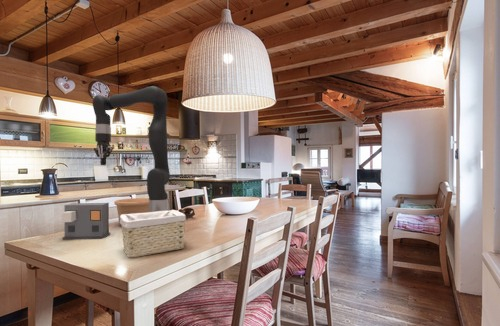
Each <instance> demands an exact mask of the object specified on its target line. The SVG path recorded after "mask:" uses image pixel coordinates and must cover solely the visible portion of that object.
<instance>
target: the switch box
mask: <svg viewBox="0 0 500 326" xmlns="http://www.w3.org/2000/svg"><path fill="white" fill-rule="evenodd" d="M109 206H110V205H109V202H84V203H83V202H77V203H76V202H75V203H73V202H72V203H68V204H64V212H66V211H77V220H75V221H73V222H64V236H62V240H104V239H105V238H106V237H108V236H110V235H111V232H110V231H109V229H110V227H109V221H110V220H109V219H110V218H109V211H110V210H109V209H110V208H109ZM92 210H101V220H91V211H92Z"/></svg>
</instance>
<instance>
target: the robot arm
mask: <svg viewBox="0 0 500 326" xmlns="http://www.w3.org/2000/svg"><path fill="white" fill-rule="evenodd" d="M140 103H143V104H145V103H148V104H150V105H152V108H153V109H152V111H153V115H152V116H153V117H152V120H151V122H150V125H149V128H148V145H149V148H150V150H151V151H150V152H151V154H152V156H153V159H154V168H152V169H150V171H148V173H147V176H146V187H147V195H148V198H149V212H157V211H169V208H168V207H169V205H168V204H169V198H168V197H169V196H168V193H167V192H166V188H165V187H166V186H165V185H167V184H168V183H169V182H170V177H171V174H170V173H171V172H170V168H169V160H168V154H169V153H168V152H169V151H168V128H167V126H168V125H167V124H168V123H167V110H168V109H167V108H168V95H167V92H166V91H165V90H164V89H162V88H160V87H158V86H155V85H151V86H147V87H144V88H141V89H137V90H135V91H129V92H125V93H117V94H112V95H111V96H110V97H107V96H103V95H101V94H97V95H95V96H94V97H93V99H92V108H93V111H94V115H95V128H94V129H95V131H94V132H95V136H94V140H95V142H96V147H93V151H94V153H95V154H96V156H97V158H99V161H100V163H99V164H100V165H101V166H106V165H107V158H109V157H110V156H111V154H112V152H113V150H114V148H113V147H111V146H110V143H111V142H112V127H111V116H110V114H108V113H107V112H106V111H113V110H115V109H117V108H118V109H119V108H126V107H130V106H133V105H134V104H140Z"/></svg>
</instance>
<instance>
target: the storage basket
mask: <svg viewBox="0 0 500 326" xmlns="http://www.w3.org/2000/svg"><path fill="white" fill-rule="evenodd" d="M120 224H121V226H122V227H121V226H120V227H121V235H122V244H123V251H124V252H125V254H126V255H127V257H128V258H139V257H143V256H149V255H150V256H151V255H154V254H159V253H166V252H170V251H177V250H182V249H184V246H185V245H184V244H185V243H184V242H185V228H186V227H185V225H186V218H185V214H183V213H181V212H179V211H178V210H176V209H171V210H169V209H168V211H157V212H147V213H135V214H122V215H120ZM120 224H119V225H120Z"/></svg>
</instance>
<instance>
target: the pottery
mask: <svg viewBox="0 0 500 326" xmlns="http://www.w3.org/2000/svg"><path fill="white" fill-rule="evenodd" d="M114 205H115V206H116V211H117V217H118V223H119V227H121V228H122V226H121V224H120V215H122V214H135V213H147V212H149V197H135V198H133V197H132V198H121V199H117V200H115V201H114Z"/></svg>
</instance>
